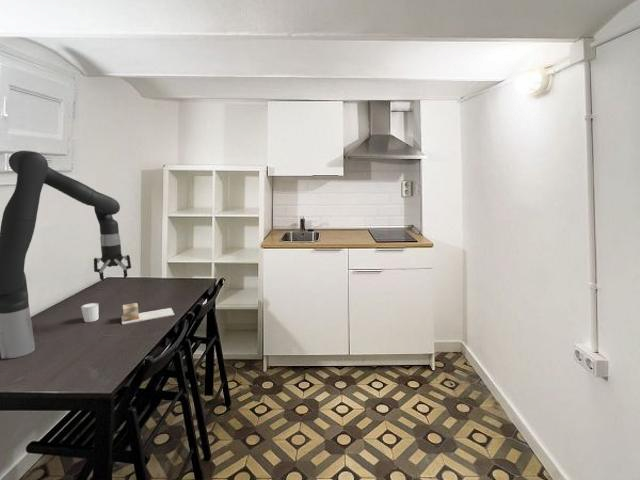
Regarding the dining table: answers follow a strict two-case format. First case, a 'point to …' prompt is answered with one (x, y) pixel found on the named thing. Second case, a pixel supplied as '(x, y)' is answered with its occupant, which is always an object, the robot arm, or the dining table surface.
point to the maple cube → (130, 312)
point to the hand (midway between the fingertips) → (114, 279)
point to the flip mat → (150, 315)
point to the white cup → (90, 312)
